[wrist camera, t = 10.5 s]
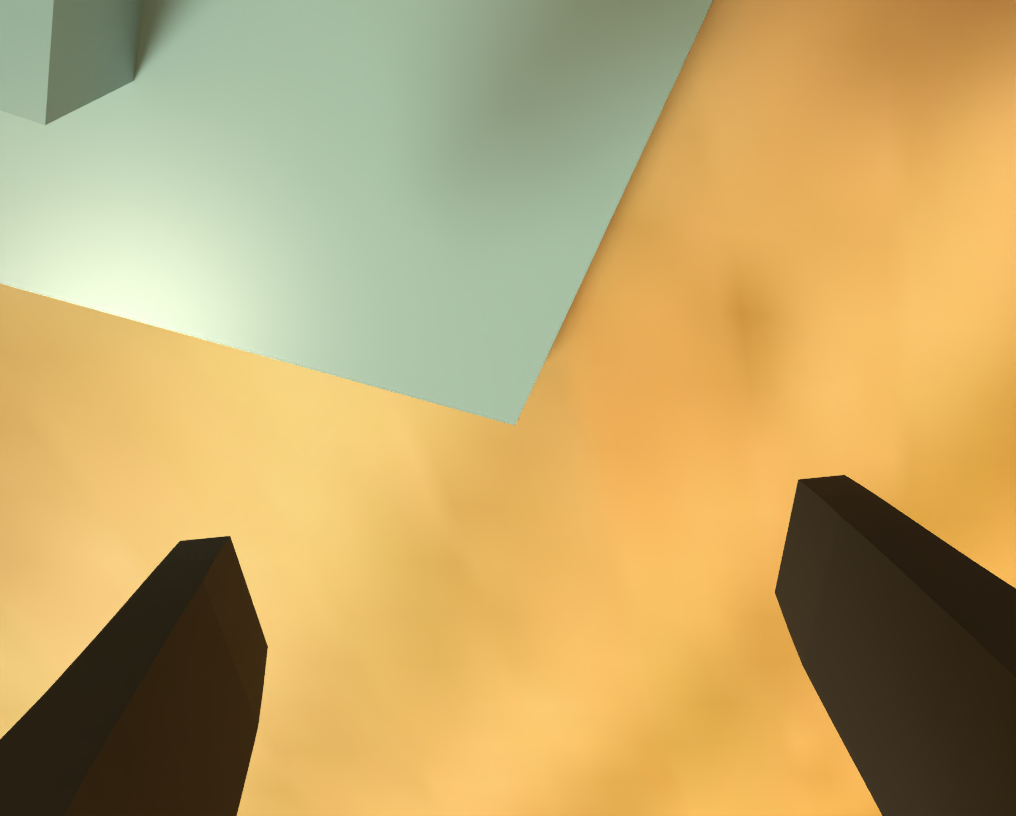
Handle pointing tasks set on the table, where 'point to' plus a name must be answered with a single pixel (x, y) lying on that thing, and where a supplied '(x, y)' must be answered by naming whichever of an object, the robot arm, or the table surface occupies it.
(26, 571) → the table surface
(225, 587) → the robot arm
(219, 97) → the lid
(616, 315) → the table surface
